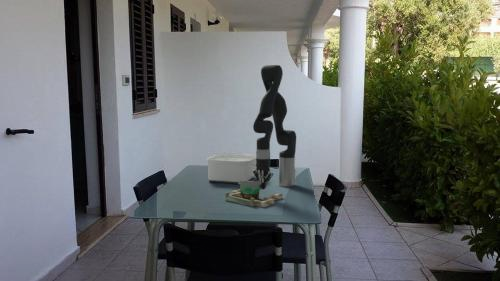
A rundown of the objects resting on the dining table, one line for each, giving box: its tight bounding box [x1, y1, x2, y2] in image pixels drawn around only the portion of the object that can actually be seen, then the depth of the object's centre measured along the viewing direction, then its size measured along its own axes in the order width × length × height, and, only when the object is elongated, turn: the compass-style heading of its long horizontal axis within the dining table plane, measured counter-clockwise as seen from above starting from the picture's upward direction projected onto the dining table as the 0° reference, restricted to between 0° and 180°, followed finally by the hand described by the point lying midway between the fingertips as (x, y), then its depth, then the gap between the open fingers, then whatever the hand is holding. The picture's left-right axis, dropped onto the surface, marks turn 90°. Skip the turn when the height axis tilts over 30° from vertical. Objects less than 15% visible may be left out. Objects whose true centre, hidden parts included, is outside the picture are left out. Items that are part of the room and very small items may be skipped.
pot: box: [205, 152, 257, 185], centre depth 290 cm, size 34×29×15 cm
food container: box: [237, 180, 262, 200], centre depth 240 cm, size 12×6×10 cm, turn 92°
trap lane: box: [224, 188, 283, 208], centre depth 241 cm, size 24×28×4 cm
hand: (262, 189), depth 246 cm, fingers closed
